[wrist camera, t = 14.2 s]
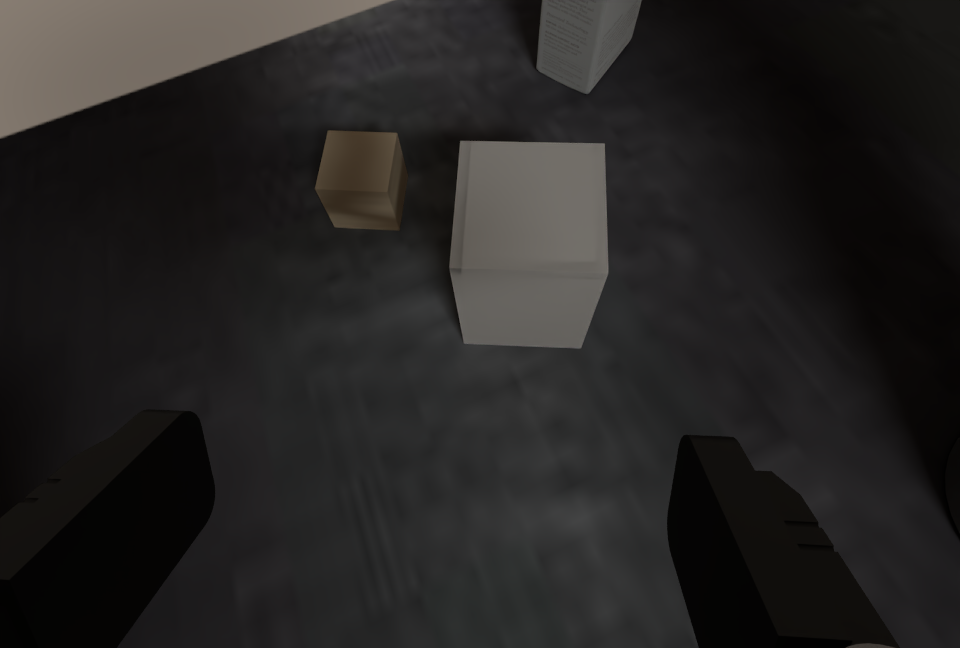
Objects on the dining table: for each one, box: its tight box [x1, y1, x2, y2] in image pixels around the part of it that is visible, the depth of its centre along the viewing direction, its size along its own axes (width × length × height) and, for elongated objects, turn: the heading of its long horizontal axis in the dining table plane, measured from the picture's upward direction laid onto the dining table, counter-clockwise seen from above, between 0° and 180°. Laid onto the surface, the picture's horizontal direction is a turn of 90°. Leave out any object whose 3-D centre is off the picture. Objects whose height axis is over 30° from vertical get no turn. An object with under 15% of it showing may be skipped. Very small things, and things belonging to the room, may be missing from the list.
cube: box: [315, 130, 408, 231], centre depth 34 cm, size 4×4×4 cm
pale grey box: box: [449, 141, 608, 349], centre depth 28 cm, size 6×6×9 cm
